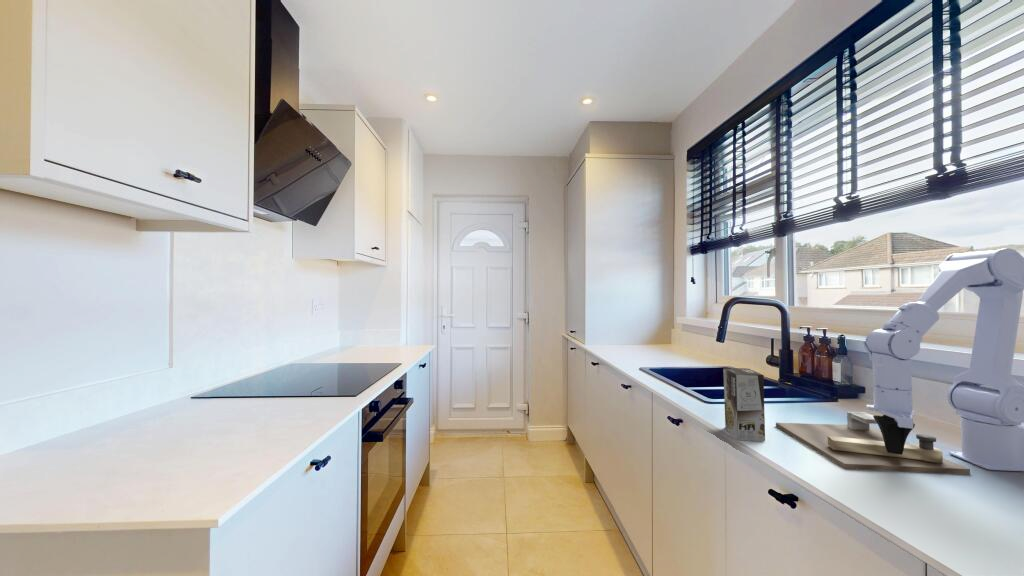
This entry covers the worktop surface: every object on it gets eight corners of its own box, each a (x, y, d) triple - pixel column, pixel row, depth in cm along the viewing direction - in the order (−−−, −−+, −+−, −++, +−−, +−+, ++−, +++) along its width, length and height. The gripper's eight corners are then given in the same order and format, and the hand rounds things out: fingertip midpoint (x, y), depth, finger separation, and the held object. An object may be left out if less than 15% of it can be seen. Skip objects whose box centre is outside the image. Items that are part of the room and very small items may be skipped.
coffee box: (766, 442, 91) (764, 374, 91) (737, 440, 92) (735, 374, 92) (750, 429, 100) (749, 367, 100) (724, 427, 101) (722, 367, 101)
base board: (867, 429, 98) (866, 410, 98) (970, 474, 73) (968, 448, 73) (775, 426, 101) (775, 407, 101) (844, 468, 76) (843, 443, 76)
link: (934, 455, 79) (933, 434, 79) (948, 464, 75) (947, 441, 75) (826, 443, 86) (825, 424, 86) (834, 451, 82) (833, 430, 82)
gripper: (857, 378, 87) (859, 438, 87) (876, 392, 75) (879, 461, 74) (899, 381, 83) (901, 444, 83) (927, 397, 71) (930, 470, 71)
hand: (894, 452), depth 78 cm, fingers closed, pressing on link
